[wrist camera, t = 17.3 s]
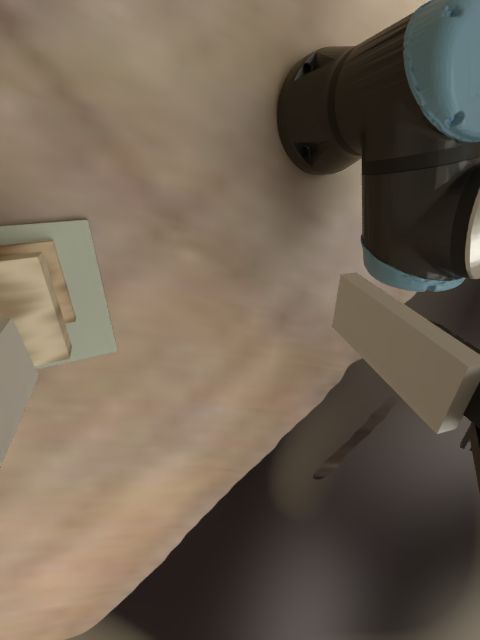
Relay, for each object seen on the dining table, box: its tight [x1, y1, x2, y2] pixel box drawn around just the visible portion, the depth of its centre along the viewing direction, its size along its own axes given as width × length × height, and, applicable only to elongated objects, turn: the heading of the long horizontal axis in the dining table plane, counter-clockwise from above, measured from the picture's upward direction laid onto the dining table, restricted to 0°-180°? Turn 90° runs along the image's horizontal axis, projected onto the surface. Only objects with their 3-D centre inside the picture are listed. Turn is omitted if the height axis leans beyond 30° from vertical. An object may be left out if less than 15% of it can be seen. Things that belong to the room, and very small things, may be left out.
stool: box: [0, 240, 76, 367], centre depth 32 cm, size 10×12×10 cm
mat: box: [0, 219, 117, 369], centre depth 38 cm, size 18×18×1 cm
